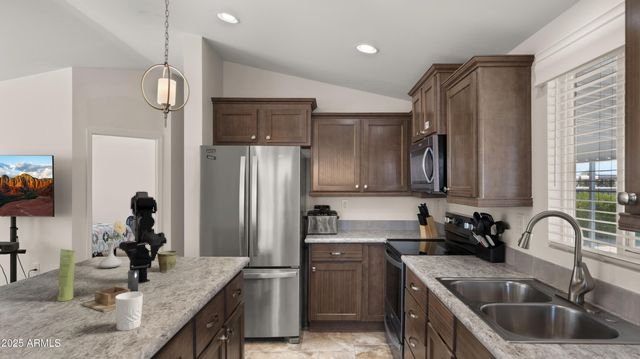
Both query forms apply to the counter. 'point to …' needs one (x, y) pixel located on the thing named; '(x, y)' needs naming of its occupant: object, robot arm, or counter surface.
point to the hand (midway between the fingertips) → (143, 263)
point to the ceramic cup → (167, 260)
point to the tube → (66, 275)
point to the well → (106, 298)
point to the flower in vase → (111, 259)
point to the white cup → (128, 310)
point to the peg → (133, 280)
